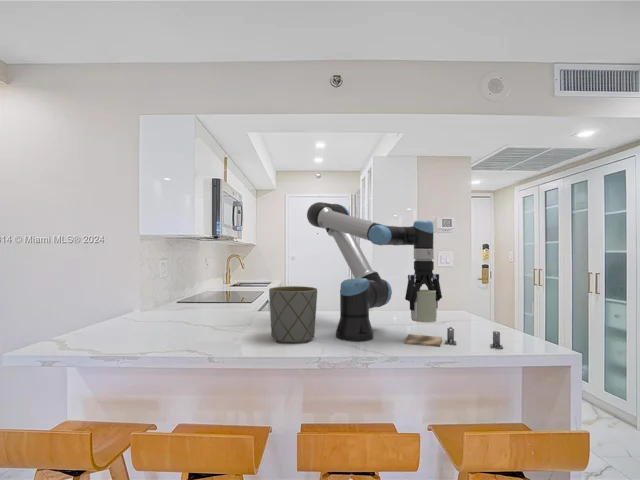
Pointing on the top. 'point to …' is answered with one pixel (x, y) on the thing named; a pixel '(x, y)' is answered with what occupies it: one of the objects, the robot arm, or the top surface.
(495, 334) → the lug post right
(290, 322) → the planter
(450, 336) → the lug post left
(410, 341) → the tan flat square board
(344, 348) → the top surface
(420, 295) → the can
